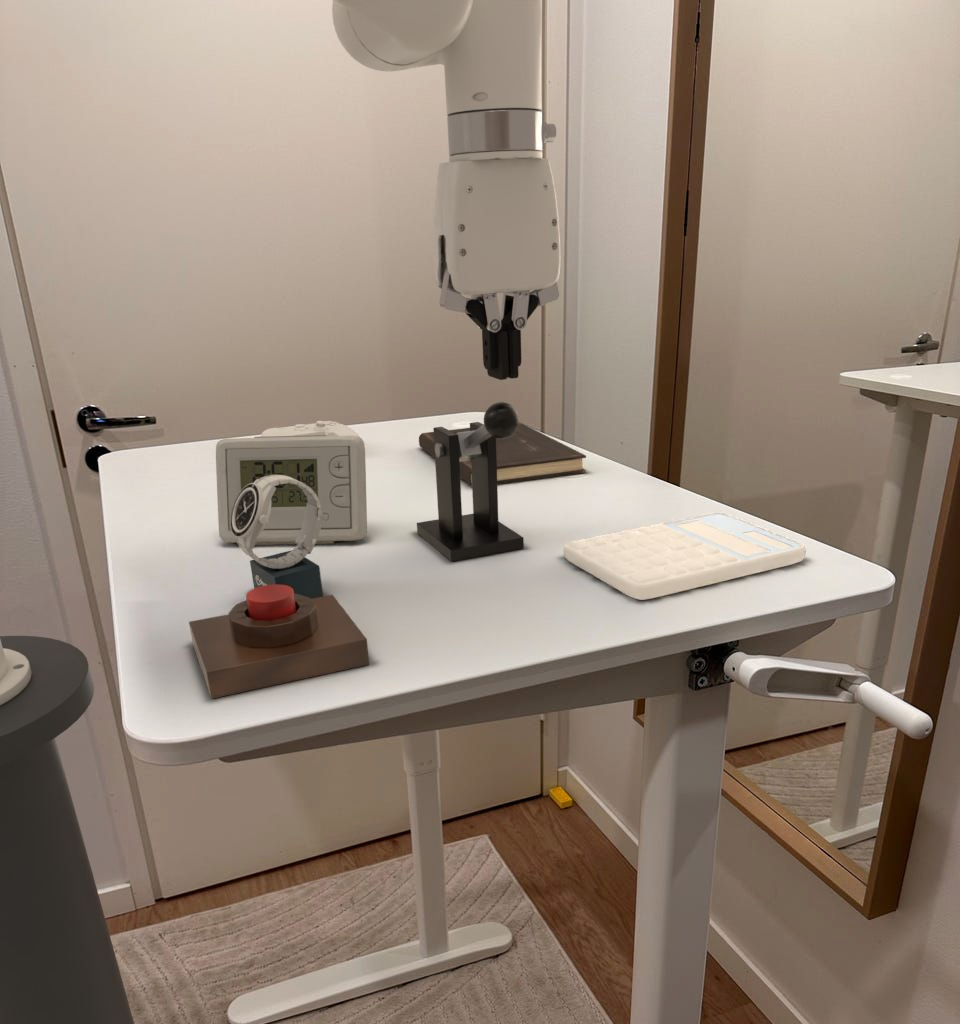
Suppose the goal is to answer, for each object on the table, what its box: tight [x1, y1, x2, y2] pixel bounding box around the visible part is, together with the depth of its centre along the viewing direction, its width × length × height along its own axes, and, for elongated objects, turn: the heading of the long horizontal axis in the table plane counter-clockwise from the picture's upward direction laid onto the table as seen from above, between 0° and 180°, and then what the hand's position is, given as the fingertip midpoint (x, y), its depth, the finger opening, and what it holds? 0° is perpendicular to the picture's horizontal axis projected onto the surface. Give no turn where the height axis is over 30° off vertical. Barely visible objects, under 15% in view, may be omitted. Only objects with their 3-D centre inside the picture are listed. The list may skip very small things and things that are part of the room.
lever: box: [456, 401, 520, 462], centre depth 86 cm, size 13×3×3 cm, turn 23°
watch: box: [231, 475, 324, 599], centre depth 81 cm, size 6×8×11 cm
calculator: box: [562, 511, 807, 601], centre depth 87 cm, size 13×20×2 cm, turn 116°
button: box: [245, 584, 296, 620], centre depth 70 cm, size 4×4×2 cm
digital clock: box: [215, 435, 368, 546], centre depth 96 cm, size 16×9×11 cm, turn 75°
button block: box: [188, 594, 370, 700], centre depth 71 cm, size 12×10×4 cm
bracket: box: [416, 421, 525, 562], centre depth 93 cm, size 10×8×12 cm
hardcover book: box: [418, 421, 587, 487], centre depth 125 cm, size 16×23×2 cm
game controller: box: [260, 420, 360, 437], centre depth 131 cm, size 14×4×10 cm
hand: (502, 376), depth 80 cm, fingers closed
